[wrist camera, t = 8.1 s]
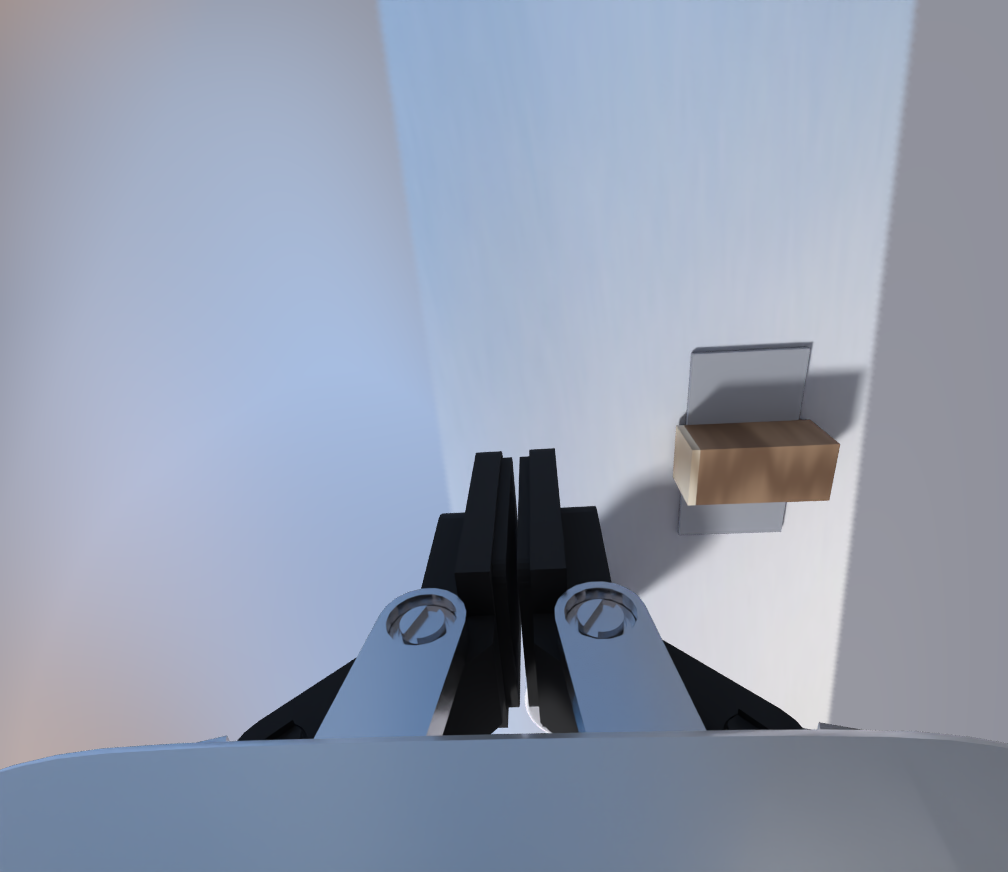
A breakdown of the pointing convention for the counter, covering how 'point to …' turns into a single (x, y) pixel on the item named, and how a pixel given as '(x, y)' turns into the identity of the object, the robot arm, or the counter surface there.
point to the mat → (742, 421)
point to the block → (754, 462)
